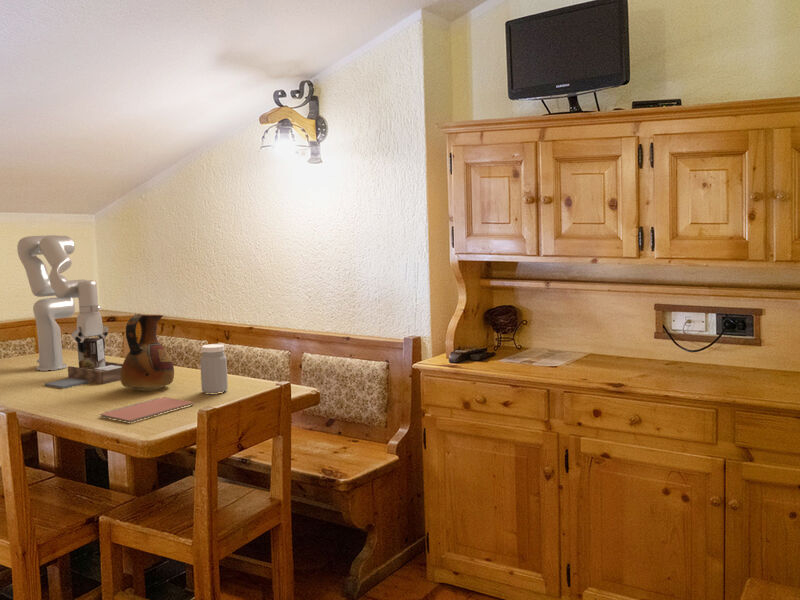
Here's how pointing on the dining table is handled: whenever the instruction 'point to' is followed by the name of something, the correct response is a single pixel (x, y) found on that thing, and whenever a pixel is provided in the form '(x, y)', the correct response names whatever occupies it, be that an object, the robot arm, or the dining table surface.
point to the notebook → (145, 409)
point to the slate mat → (66, 383)
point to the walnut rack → (96, 374)
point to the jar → (213, 369)
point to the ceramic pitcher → (146, 357)
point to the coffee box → (92, 354)
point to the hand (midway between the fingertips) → (92, 349)
